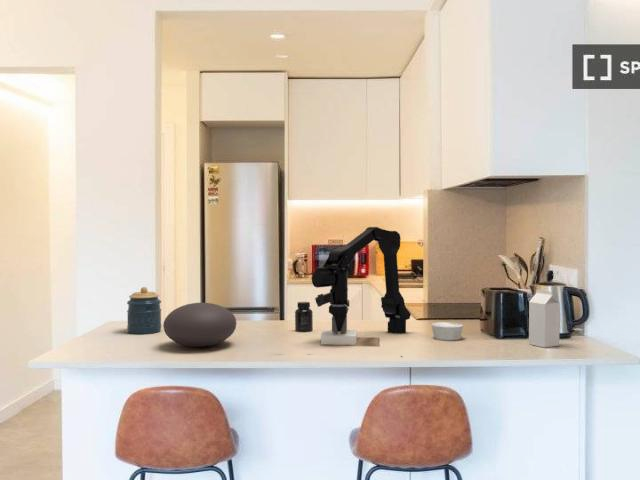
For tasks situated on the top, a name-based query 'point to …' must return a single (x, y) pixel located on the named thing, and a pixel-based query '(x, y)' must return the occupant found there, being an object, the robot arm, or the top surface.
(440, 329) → the ramekin
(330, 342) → the socket
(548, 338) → the milk carton
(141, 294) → the canister
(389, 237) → the robot arm
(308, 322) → the supplement bottle
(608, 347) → the top surface
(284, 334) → the top surface
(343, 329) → the charcoal cube
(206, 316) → the smooth stone
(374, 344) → the walnut board
